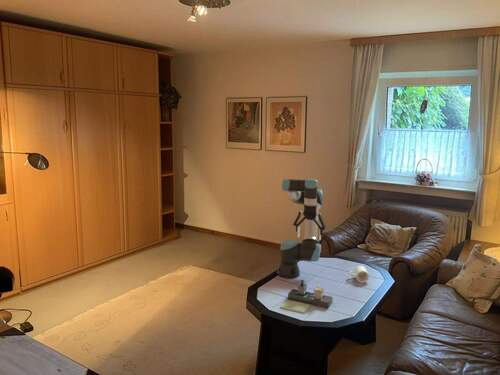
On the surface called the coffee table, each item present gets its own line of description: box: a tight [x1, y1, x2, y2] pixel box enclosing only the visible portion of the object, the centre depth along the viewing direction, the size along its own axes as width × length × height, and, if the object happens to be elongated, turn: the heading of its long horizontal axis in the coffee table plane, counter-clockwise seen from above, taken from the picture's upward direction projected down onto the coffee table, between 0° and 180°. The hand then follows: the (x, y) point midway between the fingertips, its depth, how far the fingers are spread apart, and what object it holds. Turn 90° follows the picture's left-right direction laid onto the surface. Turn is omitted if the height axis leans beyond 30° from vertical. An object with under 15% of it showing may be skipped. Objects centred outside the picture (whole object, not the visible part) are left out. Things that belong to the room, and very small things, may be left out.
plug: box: [313, 286, 324, 300], centre depth 231 cm, size 4×4×8 cm
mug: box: [348, 265, 370, 283], centre depth 267 cm, size 12×10×8 cm
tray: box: [279, 299, 311, 314], centre depth 226 cm, size 14×10×1 cm
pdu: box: [287, 279, 334, 309], centre depth 233 cm, size 24×8×12 cm, turn 64°
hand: (308, 238), depth 249 cm, fingers open, 13 cm apart
